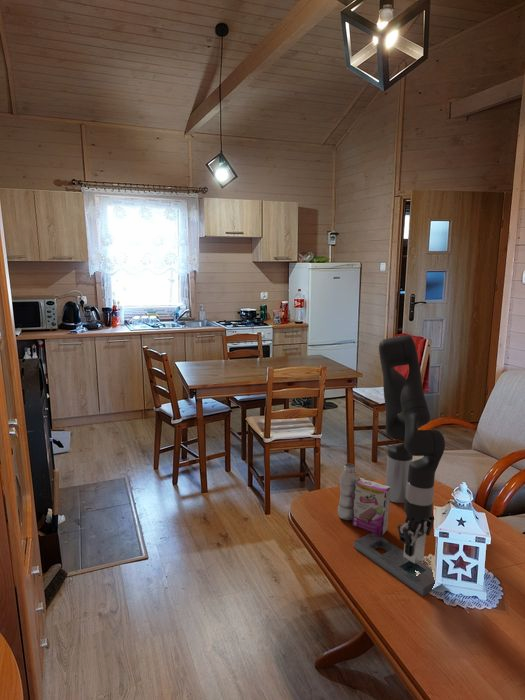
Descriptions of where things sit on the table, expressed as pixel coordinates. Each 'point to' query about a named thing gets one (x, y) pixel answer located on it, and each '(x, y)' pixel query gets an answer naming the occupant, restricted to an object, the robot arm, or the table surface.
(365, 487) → the candy bar box
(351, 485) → the plastic bottle
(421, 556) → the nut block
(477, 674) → the table surface
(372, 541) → the grey board with holes
